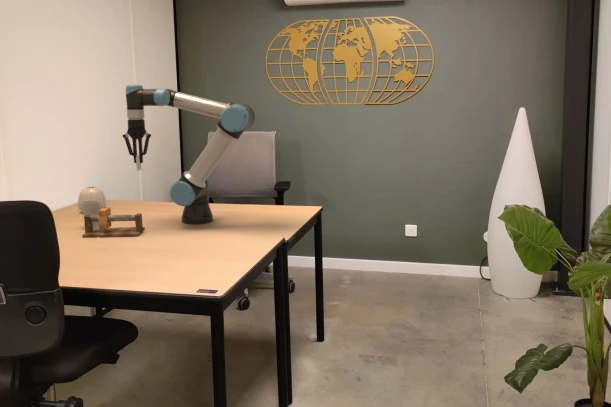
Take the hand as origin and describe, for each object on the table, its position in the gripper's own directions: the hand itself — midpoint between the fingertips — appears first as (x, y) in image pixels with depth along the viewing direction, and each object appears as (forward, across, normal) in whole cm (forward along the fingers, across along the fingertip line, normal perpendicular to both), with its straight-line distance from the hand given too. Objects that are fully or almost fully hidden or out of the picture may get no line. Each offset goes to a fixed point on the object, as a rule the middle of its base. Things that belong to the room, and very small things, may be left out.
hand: (139, 170), depth 282 cm
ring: (+24, +13, +16) cm, 31 cm away
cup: (+27, +23, +1) cm, 35 cm away
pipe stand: (+26, +9, +16) cm, 32 cm away
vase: (+27, +33, -36) cm, 56 cm away
